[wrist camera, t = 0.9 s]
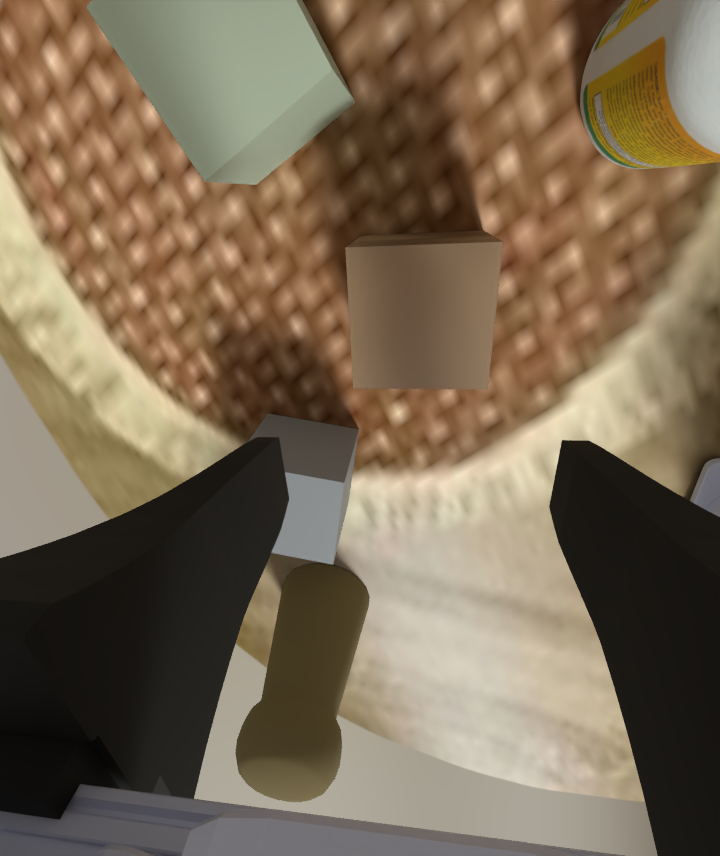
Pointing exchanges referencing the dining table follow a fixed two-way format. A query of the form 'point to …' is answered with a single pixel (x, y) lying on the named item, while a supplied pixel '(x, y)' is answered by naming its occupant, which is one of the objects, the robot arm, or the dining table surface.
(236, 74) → the sage green block
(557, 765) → the dining table surface
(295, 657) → the olive brown rounded piece
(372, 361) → the walnut block
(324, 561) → the slate grey block
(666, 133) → the supplement bottle
